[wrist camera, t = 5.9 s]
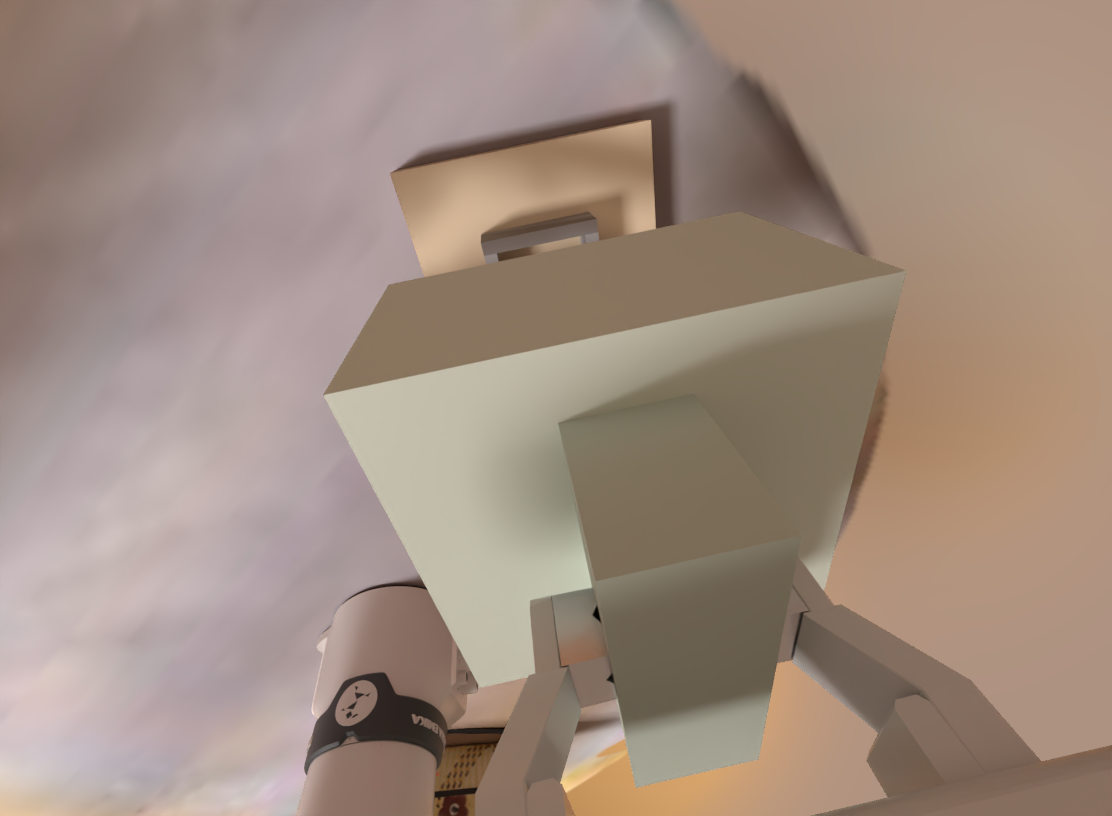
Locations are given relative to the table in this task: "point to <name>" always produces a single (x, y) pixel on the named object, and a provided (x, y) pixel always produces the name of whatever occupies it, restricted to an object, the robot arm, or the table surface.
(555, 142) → the socket plate
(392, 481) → the housing
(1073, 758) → the robot arm
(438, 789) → the clutch purse
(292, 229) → the table surface
